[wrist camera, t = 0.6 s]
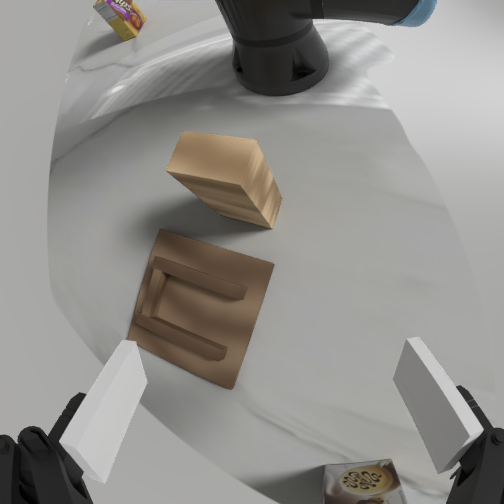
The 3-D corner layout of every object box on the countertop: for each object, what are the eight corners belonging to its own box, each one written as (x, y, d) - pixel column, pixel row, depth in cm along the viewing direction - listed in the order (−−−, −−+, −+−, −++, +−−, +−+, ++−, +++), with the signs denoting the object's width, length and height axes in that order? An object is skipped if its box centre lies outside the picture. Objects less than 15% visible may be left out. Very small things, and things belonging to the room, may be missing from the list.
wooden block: (230, 186, 37) (182, 131, 23) (282, 198, 35) (256, 140, 21) (220, 215, 36) (165, 170, 23) (272, 228, 34) (240, 185, 21)
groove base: (163, 230, 38) (151, 225, 35) (274, 264, 34) (269, 261, 31) (131, 338, 37) (118, 340, 34) (233, 387, 32) (225, 394, 30)
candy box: (134, 23, 53) (106, -11, 38) (147, 18, 52) (120, -18, 37) (123, 42, 52) (91, 6, 37) (136, 36, 50) (105, -2, 36)
